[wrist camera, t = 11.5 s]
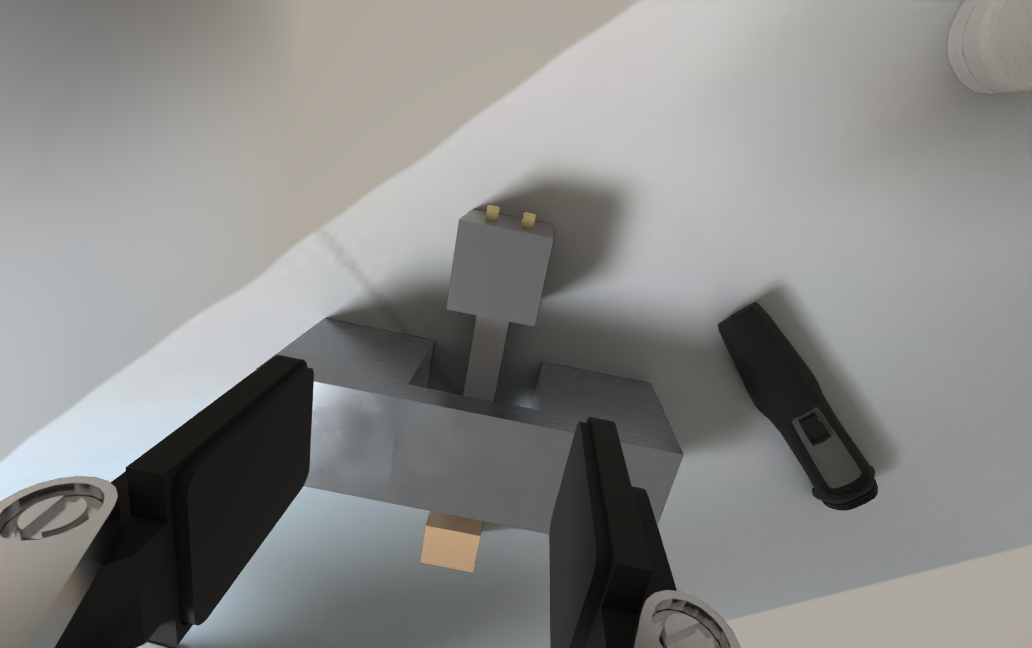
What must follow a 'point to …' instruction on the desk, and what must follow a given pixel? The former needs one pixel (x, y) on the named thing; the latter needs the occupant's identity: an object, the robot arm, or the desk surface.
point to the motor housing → (464, 430)
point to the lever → (488, 333)
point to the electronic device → (992, 45)
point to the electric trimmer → (797, 409)
